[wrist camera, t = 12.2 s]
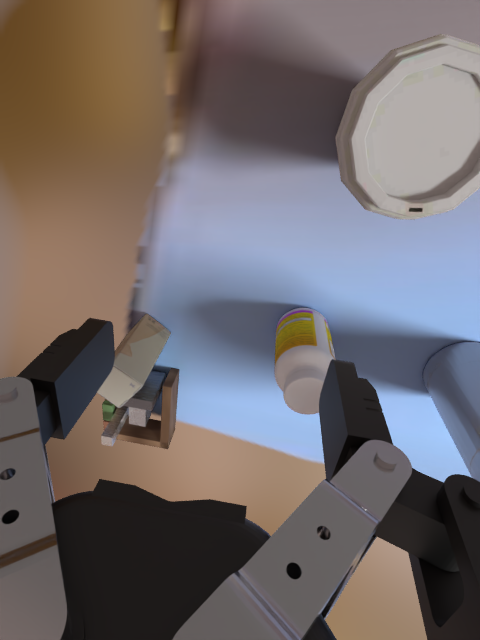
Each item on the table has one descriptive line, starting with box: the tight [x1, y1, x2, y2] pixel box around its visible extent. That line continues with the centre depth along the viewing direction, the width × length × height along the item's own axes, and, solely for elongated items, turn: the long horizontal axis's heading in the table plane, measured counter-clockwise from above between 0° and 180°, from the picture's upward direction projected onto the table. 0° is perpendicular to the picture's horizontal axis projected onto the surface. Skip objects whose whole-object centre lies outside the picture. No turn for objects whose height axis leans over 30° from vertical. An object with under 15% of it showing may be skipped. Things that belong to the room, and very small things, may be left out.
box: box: [97, 314, 171, 408], centre depth 45 cm, size 5×4×11 cm
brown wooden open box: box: [102, 368, 179, 449], centre depth 53 cm, size 9×12×5 cm
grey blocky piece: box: [101, 370, 166, 446], centre depth 50 cm, size 6×7×8 cm
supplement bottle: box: [275, 308, 336, 414], centre depth 41 cm, size 7×7×13 cm
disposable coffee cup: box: [335, 34, 480, 219], centre depth 28 cm, size 11×11×15 cm
